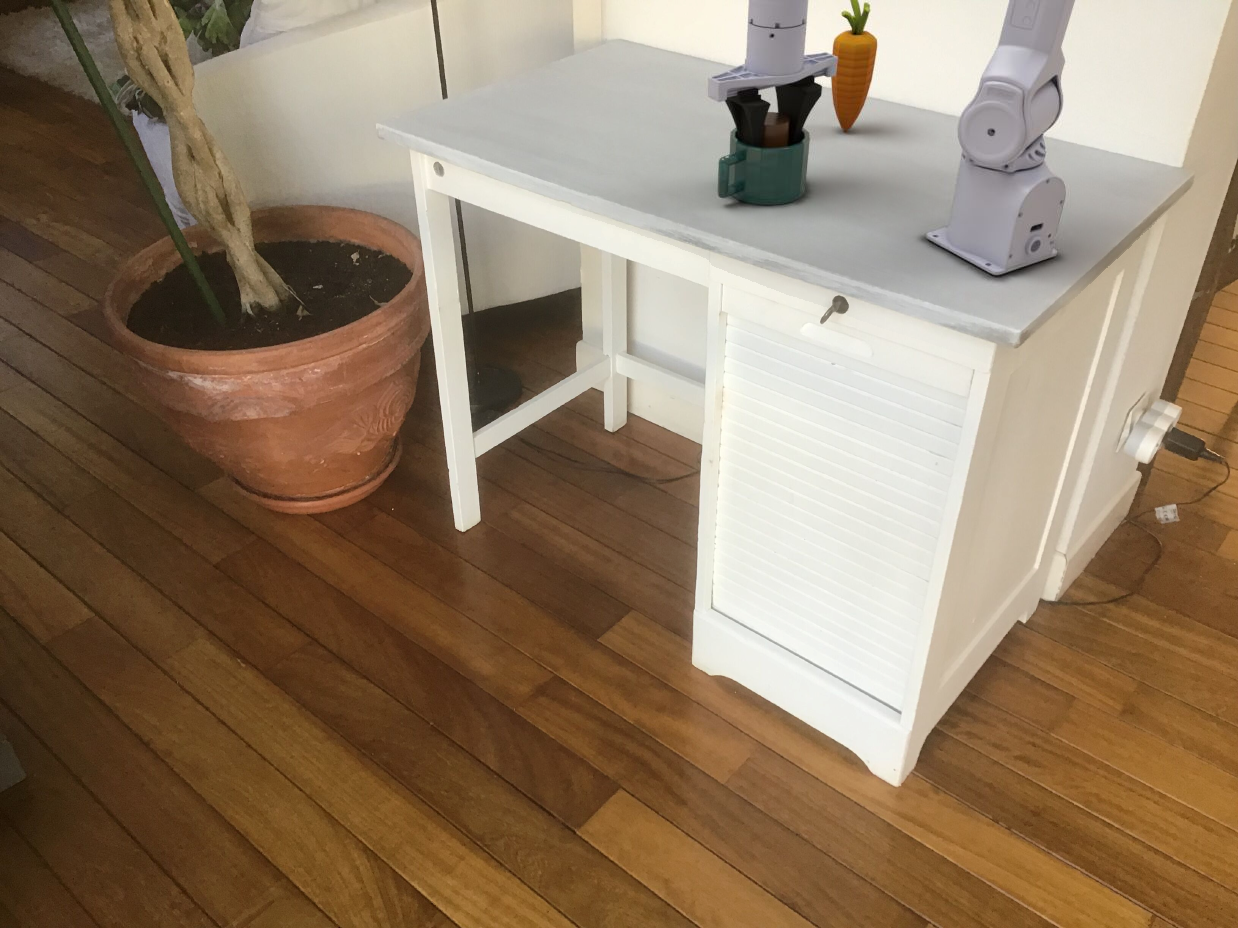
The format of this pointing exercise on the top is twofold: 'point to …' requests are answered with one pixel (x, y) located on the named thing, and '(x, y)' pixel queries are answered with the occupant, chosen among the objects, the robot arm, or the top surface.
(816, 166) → the top surface
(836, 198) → the top surface
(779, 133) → the walnut peg
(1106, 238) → the top surface
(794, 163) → the mug
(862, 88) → the carrot
